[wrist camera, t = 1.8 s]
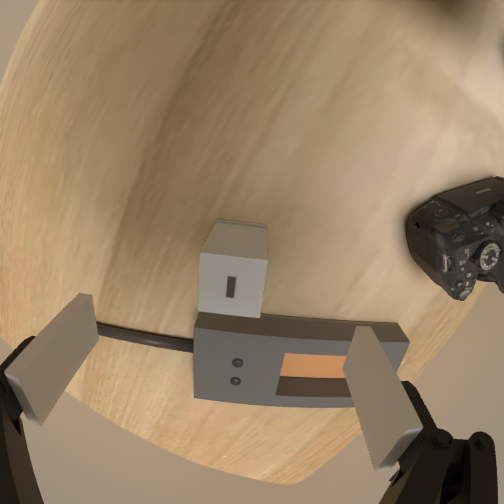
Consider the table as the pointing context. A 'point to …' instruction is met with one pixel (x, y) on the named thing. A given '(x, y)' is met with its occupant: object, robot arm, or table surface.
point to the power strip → (271, 357)
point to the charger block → (233, 269)
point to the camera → (461, 237)
